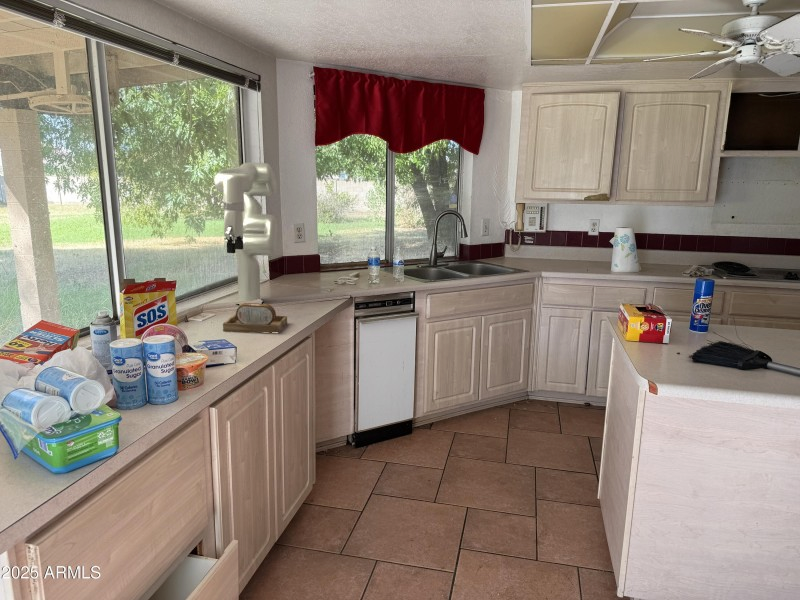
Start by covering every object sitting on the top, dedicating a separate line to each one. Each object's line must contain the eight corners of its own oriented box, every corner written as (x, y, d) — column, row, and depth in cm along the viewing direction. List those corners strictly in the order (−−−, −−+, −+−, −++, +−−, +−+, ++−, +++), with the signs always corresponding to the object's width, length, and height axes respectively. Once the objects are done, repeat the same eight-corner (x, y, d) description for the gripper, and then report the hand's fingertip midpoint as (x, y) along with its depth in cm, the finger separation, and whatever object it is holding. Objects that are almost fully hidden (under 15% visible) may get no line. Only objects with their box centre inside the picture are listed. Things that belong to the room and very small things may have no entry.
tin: (276, 324, 210) (276, 303, 208) (274, 326, 206) (273, 305, 205) (237, 322, 210) (237, 301, 208) (235, 325, 207) (234, 303, 205)
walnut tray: (236, 320, 216) (235, 313, 215) (287, 323, 215) (287, 316, 215) (223, 331, 202) (222, 323, 201) (277, 333, 201) (277, 326, 201)
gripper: (231, 205, 216) (233, 247, 221) (216, 208, 200) (218, 254, 204) (250, 206, 216) (251, 248, 220) (236, 209, 200) (237, 255, 204)
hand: (235, 251), depth 212 cm, fingers open, 9 cm apart
